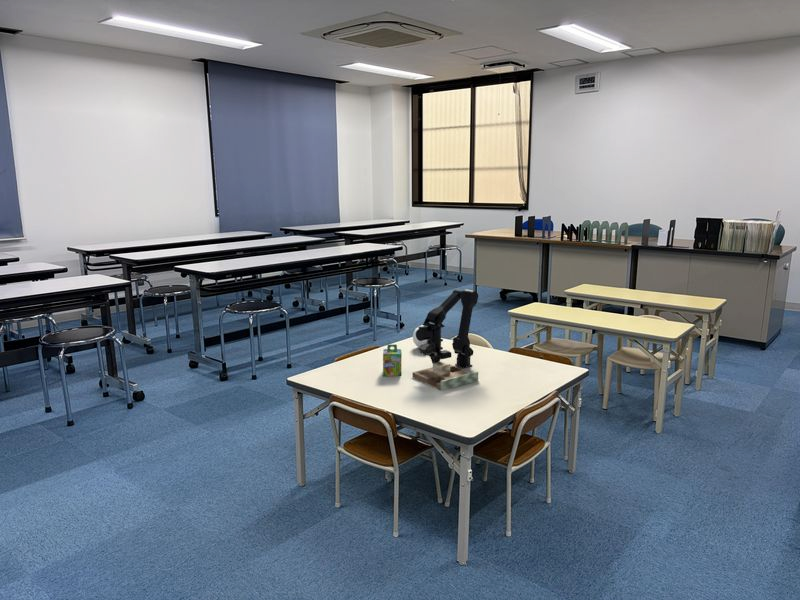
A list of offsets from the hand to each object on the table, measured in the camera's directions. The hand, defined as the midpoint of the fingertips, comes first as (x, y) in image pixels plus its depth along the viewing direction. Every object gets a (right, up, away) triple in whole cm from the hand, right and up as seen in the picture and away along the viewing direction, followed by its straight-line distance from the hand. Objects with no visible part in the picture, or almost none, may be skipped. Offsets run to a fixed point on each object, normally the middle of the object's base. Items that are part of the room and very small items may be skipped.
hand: (435, 367), depth 281 cm
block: (+3, -2, -4) cm, 5 cm away
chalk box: (-21, -4, +3) cm, 21 cm away
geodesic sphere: (-3, +6, +45) cm, 45 cm away
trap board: (+4, -5, -5) cm, 8 cm away
